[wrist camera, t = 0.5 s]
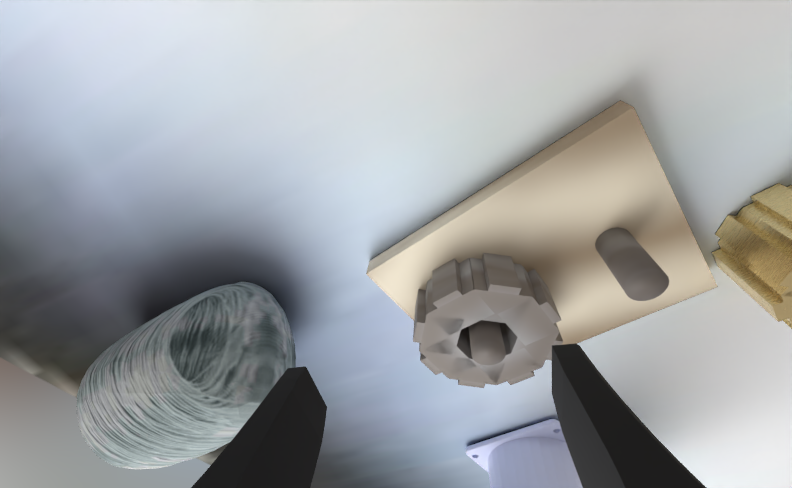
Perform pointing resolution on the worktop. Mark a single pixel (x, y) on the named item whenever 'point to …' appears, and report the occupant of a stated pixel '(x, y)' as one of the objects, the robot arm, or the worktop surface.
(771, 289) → the brass gear
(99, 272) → the worktop surface
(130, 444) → the spool
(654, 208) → the gear board
